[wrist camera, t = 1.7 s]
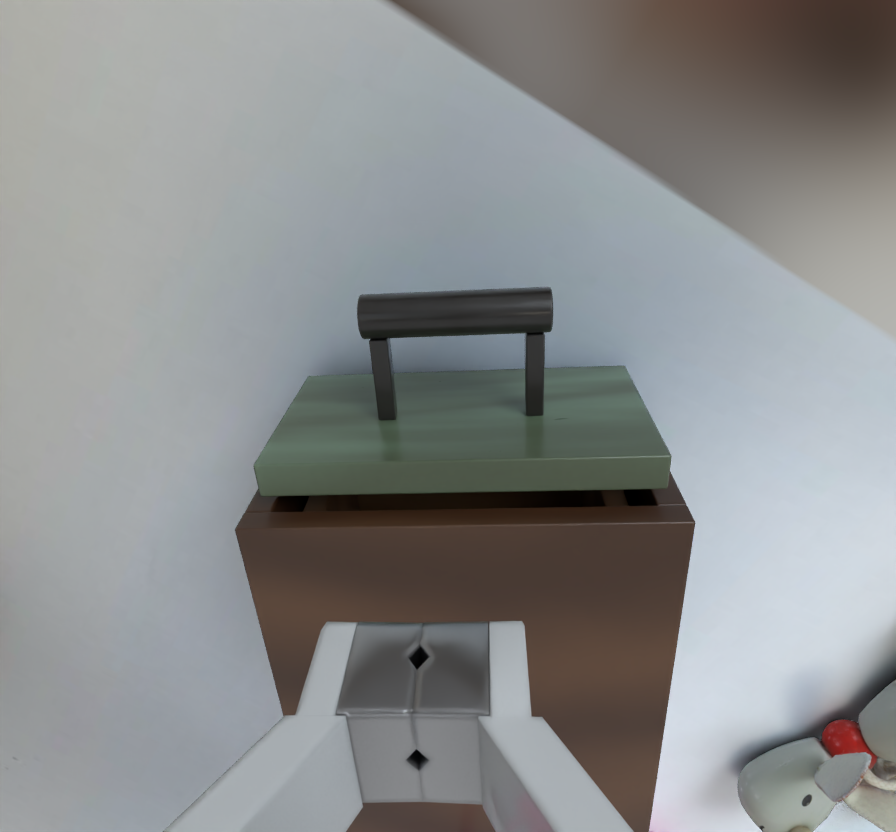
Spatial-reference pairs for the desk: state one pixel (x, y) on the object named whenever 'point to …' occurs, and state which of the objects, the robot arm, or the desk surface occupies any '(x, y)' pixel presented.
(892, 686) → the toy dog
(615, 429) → the drawer
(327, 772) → the robot arm
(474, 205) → the desk surface
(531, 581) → the cabinet
